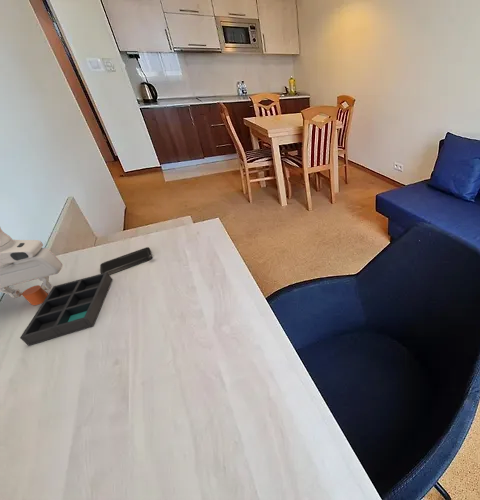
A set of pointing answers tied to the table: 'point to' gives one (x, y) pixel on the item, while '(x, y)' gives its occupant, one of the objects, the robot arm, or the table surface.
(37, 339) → the grid
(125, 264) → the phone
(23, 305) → the table surface
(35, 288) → the orange cylinder
